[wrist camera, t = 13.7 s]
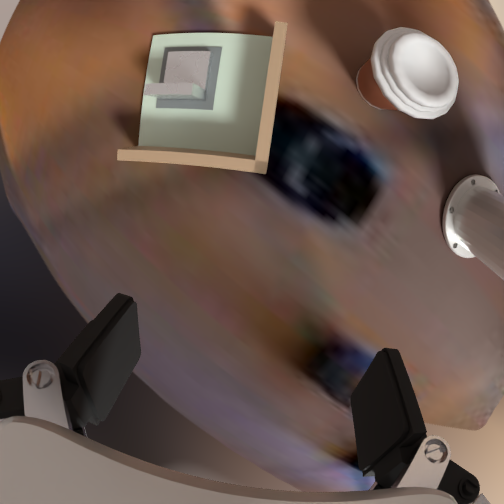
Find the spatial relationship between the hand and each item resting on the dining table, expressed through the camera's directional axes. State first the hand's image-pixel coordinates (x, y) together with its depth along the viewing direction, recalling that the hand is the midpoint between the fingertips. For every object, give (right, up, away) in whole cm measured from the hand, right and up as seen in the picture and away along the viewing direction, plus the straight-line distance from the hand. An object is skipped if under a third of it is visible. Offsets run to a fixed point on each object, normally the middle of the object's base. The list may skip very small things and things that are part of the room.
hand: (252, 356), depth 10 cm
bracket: (-7, +24, +17) cm, 31 cm away
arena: (-5, +22, +19) cm, 30 cm away
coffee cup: (+15, +24, +17) cm, 33 cm away
